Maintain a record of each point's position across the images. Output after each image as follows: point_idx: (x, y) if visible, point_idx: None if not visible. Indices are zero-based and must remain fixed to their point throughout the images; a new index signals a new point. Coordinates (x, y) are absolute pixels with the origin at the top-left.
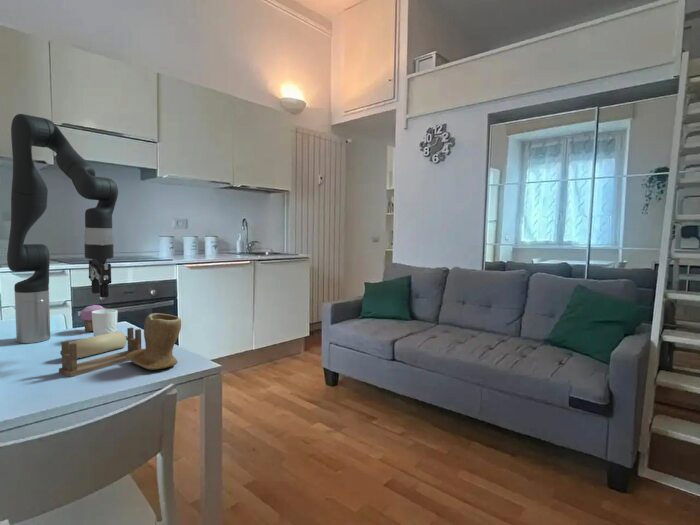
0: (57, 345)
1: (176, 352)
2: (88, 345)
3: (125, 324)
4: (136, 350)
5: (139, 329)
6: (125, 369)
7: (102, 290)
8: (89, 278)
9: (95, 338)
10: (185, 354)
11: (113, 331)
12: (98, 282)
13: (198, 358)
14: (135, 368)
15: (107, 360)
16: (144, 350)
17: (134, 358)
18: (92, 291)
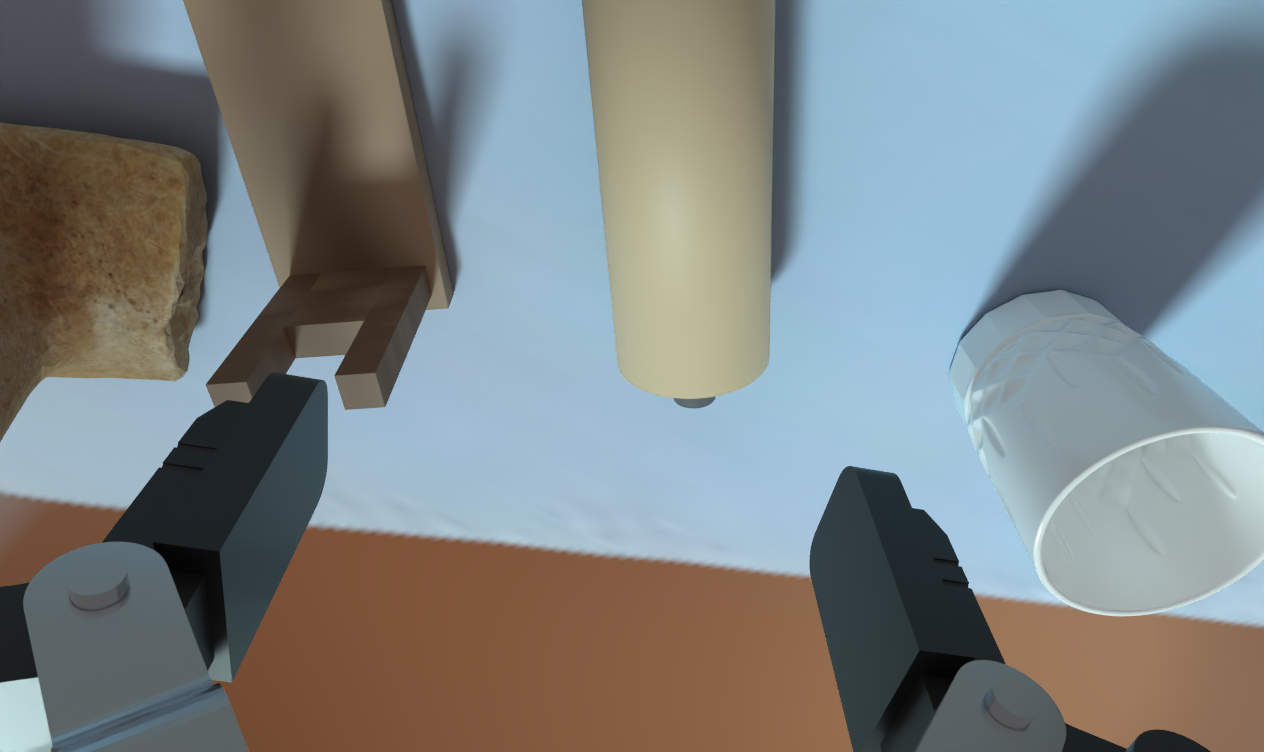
0: (1251, 11)
1: None
2: (591, 32)
3: (1254, 616)
4: (165, 246)
5: None
6: (26, 46)
7: (159, 477)
8: (1160, 736)
9: (645, 141)
10: None
11: (968, 426)
12: (861, 720)
13: (6, 479)
14: (8, 110)
15: (250, 24)
16: (68, 270)
17: (16, 150)
18: (856, 485)
